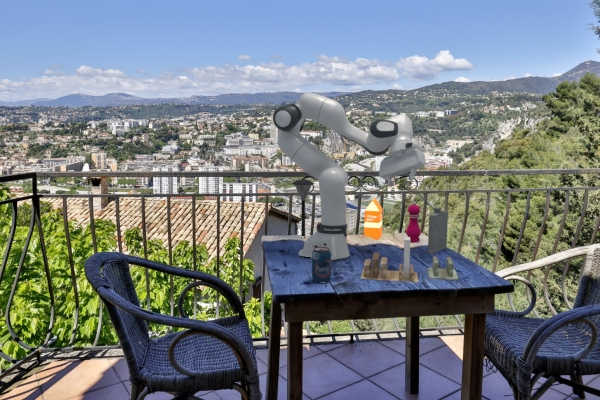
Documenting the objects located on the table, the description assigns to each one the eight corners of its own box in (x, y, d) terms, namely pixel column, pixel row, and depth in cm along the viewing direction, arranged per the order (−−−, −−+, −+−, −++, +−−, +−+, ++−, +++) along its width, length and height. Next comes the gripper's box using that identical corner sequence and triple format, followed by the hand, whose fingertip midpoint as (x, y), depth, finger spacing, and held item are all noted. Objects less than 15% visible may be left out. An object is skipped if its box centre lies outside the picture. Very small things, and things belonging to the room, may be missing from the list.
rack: (360, 282, 164) (360, 259, 163) (363, 272, 175) (363, 251, 174) (418, 286, 159) (418, 262, 158) (416, 276, 171) (417, 253, 170)
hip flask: (433, 254, 202) (435, 210, 199) (424, 253, 205) (426, 209, 202) (447, 247, 214) (449, 205, 212) (439, 246, 217) (440, 204, 214)
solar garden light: (313, 241, 228) (313, 181, 224) (289, 240, 230) (289, 181, 226) (316, 236, 240) (316, 179, 236) (293, 235, 242) (293, 179, 238)
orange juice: (364, 238, 234) (364, 200, 232) (367, 235, 243) (368, 197, 240) (379, 239, 232) (379, 200, 229) (382, 236, 240) (383, 198, 237)
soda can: (317, 285, 161) (317, 251, 160) (308, 279, 168) (308, 247, 166) (334, 282, 164) (334, 249, 162) (325, 277, 170) (325, 245, 169)
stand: (429, 282, 163) (429, 263, 162) (427, 272, 175) (427, 255, 174) (458, 284, 161) (459, 265, 160) (454, 274, 173) (455, 256, 172)
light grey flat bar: (403, 278, 164) (404, 239, 162) (403, 274, 169) (404, 236, 167) (409, 278, 163) (410, 240, 161) (408, 274, 168) (410, 237, 166)
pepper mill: (421, 243, 224) (422, 202, 221) (405, 242, 225) (407, 202, 223) (420, 239, 231) (421, 200, 228) (405, 239, 232) (406, 200, 230)
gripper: (376, 156, 190) (375, 186, 185) (418, 141, 175) (418, 173, 170) (385, 162, 194) (384, 191, 188) (427, 147, 179) (427, 179, 174)
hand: (400, 182), depth 179 cm, fingers open, 8 cm apart
